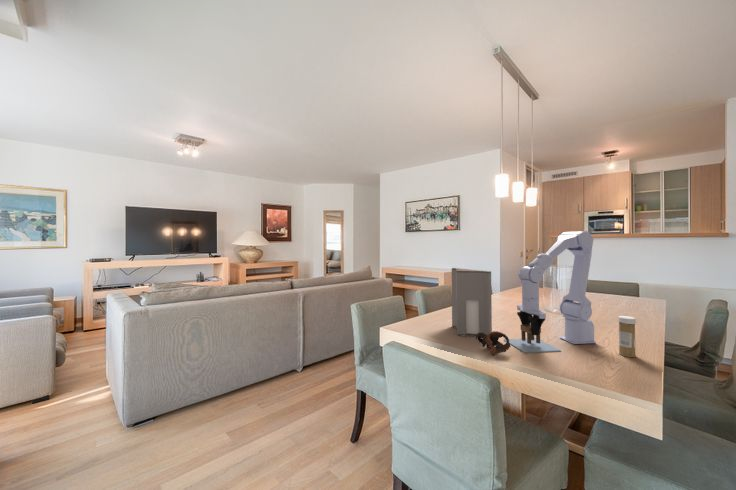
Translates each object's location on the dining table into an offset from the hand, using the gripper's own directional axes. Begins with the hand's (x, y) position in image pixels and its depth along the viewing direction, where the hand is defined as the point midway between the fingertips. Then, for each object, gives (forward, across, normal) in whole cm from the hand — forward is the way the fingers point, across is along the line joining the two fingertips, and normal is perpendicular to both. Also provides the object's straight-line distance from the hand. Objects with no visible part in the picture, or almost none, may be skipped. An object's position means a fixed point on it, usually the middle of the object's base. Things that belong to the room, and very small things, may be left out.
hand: (530, 332), depth 115 cm
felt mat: (+5, 0, 0) cm, 5 cm away
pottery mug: (+5, +3, -17) cm, 18 cm away
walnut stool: (+3, 0, 0) cm, 4 cm away
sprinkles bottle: (+5, +13, +27) cm, 30 cm away
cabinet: (+5, -18, -19) cm, 27 cm away
